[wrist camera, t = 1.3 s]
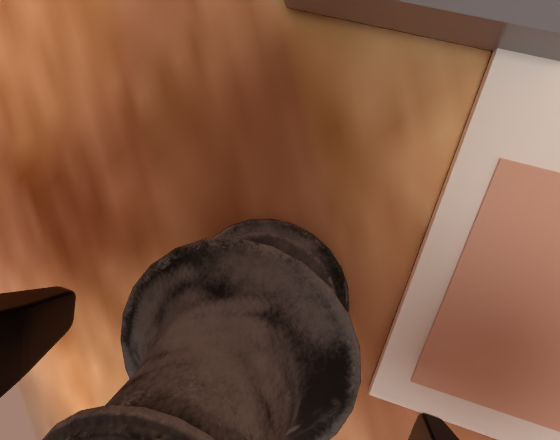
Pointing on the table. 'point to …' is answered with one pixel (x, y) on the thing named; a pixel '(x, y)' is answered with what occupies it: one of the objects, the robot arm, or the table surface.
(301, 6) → the button housing
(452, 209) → the sheet
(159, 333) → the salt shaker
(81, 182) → the table surface
